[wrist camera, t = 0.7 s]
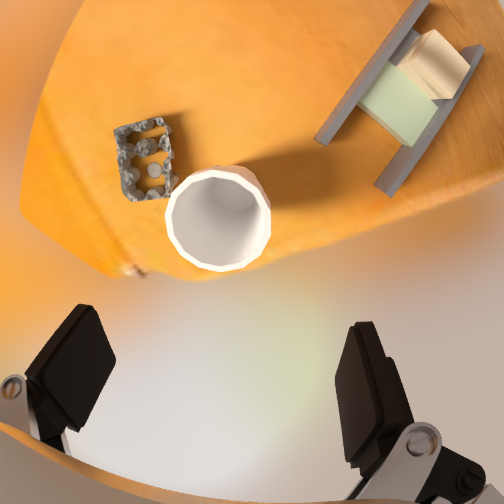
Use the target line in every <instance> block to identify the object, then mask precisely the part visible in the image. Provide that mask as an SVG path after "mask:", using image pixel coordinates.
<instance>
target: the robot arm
mask: <svg viewBox="0 0 504 504" xmlns="http://www.w3.org/2000/svg"><path fill="white" fill-rule="evenodd" d="M115 363H116V358H115V355H114V353H113V350H112V348H111V346H110V344H109V341H108V339H107V336H106V334H105V332H104V329H103V326H102V324H101V321H100V319H99V316H98V313H97V311H96V310H94V308H93V306H91V305H85V304H78V305H77V306H76V307H75V308H74V309H73V310H72V312H71V313H70V314H69V315H68V316H67V318H66V319H65V320H64V321H63V323H62V324H61V325H60V327H59V328H58V329H57V330H56V331H55V333H54V334H53V335H52V337H51V338H50V339H49V340H48V342H47V343H46V344H45V346H44V347H43V348H42V350H41V351H40V352H39V354H38V355H37V356H36V358H35V359H34V361H33V362H32V363H31V365H30V366H29V368H28V369H27V370H26V372H25V373H24V374H25V375H26V377H27V380H25V379H24V378H23V377H22V376H21V375H17V374H16V375H11V376H9V377H7V378H6V379H5V380H4V381H3V382H2V384H1V386H0V504H504V497H503V496H502V495H501V494H500V493H499V492H498V491H497V490H496V489H495V488H494V486H493V485H492V484H488V485H487V484H486V483H485V482H486V475H485V472H484V470H483V468H482V467H481V466H480V465H479V464H477V463H475V462H473V461H471V460H469V459H467V458H465V457H463V456H461V455H459V454H457V453H455V452H453V451H452V450H450V449H448V448H446V447H444V446H442V437H441V435H440V432H439V431H438V430H437V429H436V427H434V426H433V425H431V424H429V423H425V422H416V423H415V422H414V419H413V415H412V412H411V409H410V406H409V403H408V400H407V397H406V394H405V391H404V388H403V385H402V382H401V379H400V376H399V374H398V371H397V368H396V365H395V362H394V360H393V359H392V358H391V357H386V355H385V353H384V350H383V347H382V344H381V342H380V339H379V336H378V334H377V331H376V328H375V326H374V324H373V322H372V321H370V322H356V323H355V325H354V326H351V327H350V328H349V332H348V335H347V339H346V342H345V346H344V349H343V353H342V356H341V359H340V363H339V366H338V369H337V372H336V375H335V386H336V394H337V400H338V407H339V414H340V421H341V429H342V436H343V445H344V453H345V460H346V462H350V464H351V469H352V468H360V475H361V476H362V478H361V479H360V480H359V482H358V483H357V485H356V486H355V487H354V488H353V490H352V491H351V492H350V493H349V495H348V496H347V497H346V498H345V499H344V500H343V501H328V502H313V503H258V502H242V501H231V500H222V499H214V498H207V497H201V496H195V495H190V494H184V493H179V492H174V491H170V490H166V489H162V488H158V487H153V486H150V485H147V484H143V483H140V482H136V481H133V480H129V479H127V478H124V477H121V476H118V475H115V474H112V473H109V472H107V471H104V470H101V469H99V468H96V467H94V466H91V465H89V464H86V463H84V462H82V461H80V460H77V459H75V458H73V457H72V456H71V452H70V449H69V445H68V442H67V438H66V434H65V428H66V426H67V427H68V428H69V429H71V430H73V431H75V432H78V433H79V431H80V429H81V427H84V425H85V423H86V422H87V419H88V417H89V415H90V413H91V411H92V409H93V407H94V405H95V403H96V401H97V399H98V397H99V395H100V393H101V391H102V389H103V387H104V385H105V383H106V381H107V379H108V377H109V375H110V374H111V372H112V370H113V368H114V366H115Z"/></svg>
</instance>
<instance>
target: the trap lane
mask: <svg viewBox="0 0 504 504" xmlns="http://www.w3.org/2000/svg"><path fill="white" fill-rule="evenodd" d="M430 1H431V0H414V1H413V3H412V4H411V5H410V7H409V8H408V9H407V11H406V12H405V13H404V15H403V16H402V17H401V19H400V20H399V21H398V23H397V24H396V25H395V27H394V28H393V29H392V31H391V32H390V33H389V35H388V36H387V37H386V39H385V40H384V41H383V43H382V44H381V46H380V47H379V48H378V50H377V51H376V52H375V54H374V55H373V56H372V58H371V59H370V61H369V62H368V63H367V65H366V66H365V67H364V69H363V70H362V72H361V73H360V74H359V76H358V77H357V78H356V80H355V81H354V83H353V84H352V85H351V87H350V88H349V89H348V91H347V92H346V94H345V95H344V96H343V98H342V99H341V101H340V102H339V103H338V105H337V106H336V108H335V109H334V110H333V112H332V113H331V115H330V116H329V117H328V119H327V120H326V122H325V123H324V124H323V126H322V127H321V129H320V130H319V131H318V133H317V134H316V136H315V137H314V139H315V140H316V141H318V142H319V143H321V144H323V145H325V146H327V145H328V143H329V142H330V141H331V139H332V138H333V136H334V135H335V134H336V132H337V131H338V129H339V128H340V127H341V125H342V124H343V122H344V121H345V120H346V118H347V117H348V115H349V114H350V113H351V111H352V110H353V108H354V107H355V106H356V104H357V103H358V101H359V100H360V99H361V97H362V96H363V94H364V93H365V92H366V90H367V89H368V87H369V86H370V85H371V83H372V82H373V80H374V79H375V78H376V76H377V75H378V73H379V72H380V71H381V69H382V68H383V66H384V65H385V64H386V62H387V61H389V62H391V63H392V64H393V65H394V66H395V67H396V66H397V64H398V63H399V61H400V60H401V58H402V57H403V55H404V54H405V53H406V51H407V50H408V48H409V47H410V45H411V44H412V43H413V41H414V40H415V38H416V37H418V36H421V35H420V34H419V33H418V32H417V31H415V30H414V29H413V28H412V26H413V24H414V23H415V22H416V20H417V19H418V17H419V16H420V15H421V13H422V12H423V10H424V9H425V8H426V6H427V5H428V3H429V2H430ZM484 51H485V48H484V47H483V46H482V45H481V44H479V45H474V46H470V47H466V48H464V49H463V50H462V52H461V54H460V55H461V56H462V57H463V58H464V60H465V61H466V62H467V63H468V64H469V65H470V66H471V67H470V69H469V70H468V72H467V74H466V76H465V77H464V79H463V81H462V83H461V84H460V86H459V88H458V89H457V91H456V93H455V94H454V96H453V98H452V99H431V100H432V102H433V103H434V104H435V105H436V106H437V107H438V109H437V111H436V112H435V114H434V115H433V117H432V118H431V120H430V121H429V123H428V124H427V126H426V127H425V129H424V130H423V132H422V133H421V135H420V136H419V138H418V139H417V141H416V142H415V144H414V145H413V147H410V146H406V145H402V146H401V147H400V149H399V150H398V152H397V153H396V154H395V156H394V157H393V159H392V160H391V161H390V163H389V164H388V166H387V167H386V168H385V170H384V171H383V172H382V174H381V175H380V177H379V178H378V179H377V181H376V182H375V183H374V185H375V186H376V187H377V188H378V189H380V190H381V191H382V192H384V193H385V194H387V195H388V196H389V197H391V198H392V197H393V195H394V194H395V193H396V191H397V190H398V188H399V187H400V186H401V184H402V183H403V182H404V180H405V179H406V177H407V176H408V175H409V173H410V172H411V170H412V169H413V168H414V166H415V165H416V163H417V162H418V160H419V159H420V158H421V156H422V155H423V153H424V152H425V150H426V149H427V147H428V146H429V144H430V143H431V141H432V140H433V138H434V137H435V135H436V134H437V132H438V131H439V129H440V128H441V126H442V124H443V123H444V121H445V120H446V118H447V116H448V115H449V113H450V112H451V110H452V108H453V107H454V105H455V103H456V102H457V100H458V98H459V97H460V95H461V93H462V92H463V90H464V88H465V86H466V85H467V83H468V81H469V79H470V77H471V76H472V74H473V72H474V70H475V68H476V66H477V65H478V63H479V61H480V59H481V57H482V55H483V53H484ZM418 88H419V87H418Z"/></svg>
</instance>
